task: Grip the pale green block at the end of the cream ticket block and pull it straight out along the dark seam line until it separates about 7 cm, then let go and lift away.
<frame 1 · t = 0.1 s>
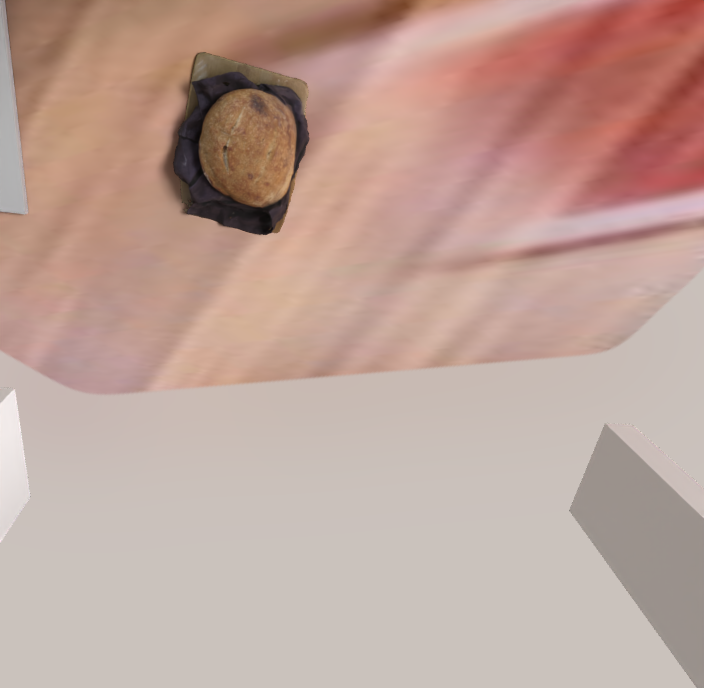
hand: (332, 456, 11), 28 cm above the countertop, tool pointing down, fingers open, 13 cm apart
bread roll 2: (243, 149, 35), on the countertop
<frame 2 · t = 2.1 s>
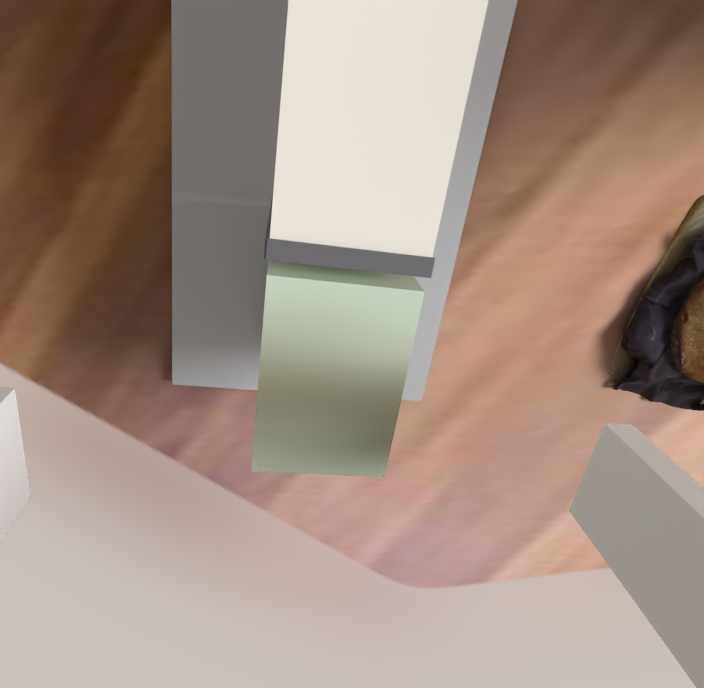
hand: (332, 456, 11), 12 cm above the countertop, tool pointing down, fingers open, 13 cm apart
ticket block: (337, 94, 19), on the countertop
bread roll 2: (695, 306, 26), on the countertop
pale green block: (322, 324, 18), point 5 cm above the countertop, slide at 0.0 cm
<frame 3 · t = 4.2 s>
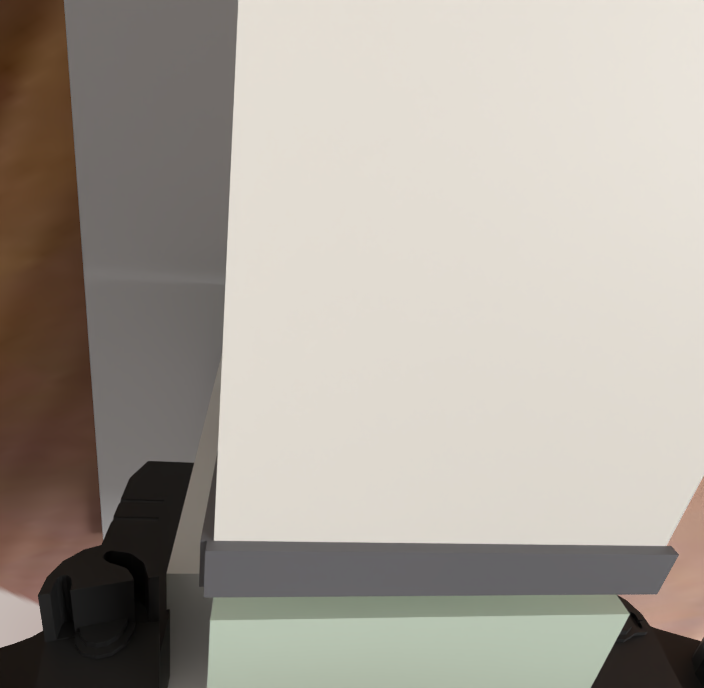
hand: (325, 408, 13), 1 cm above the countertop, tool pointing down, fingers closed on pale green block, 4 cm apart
ticket block: (361, 103, 11), on the countertop
pale green block: (341, 519, 10), point 5 cm above the countertop, slide at 0.0 cm, touching gripper
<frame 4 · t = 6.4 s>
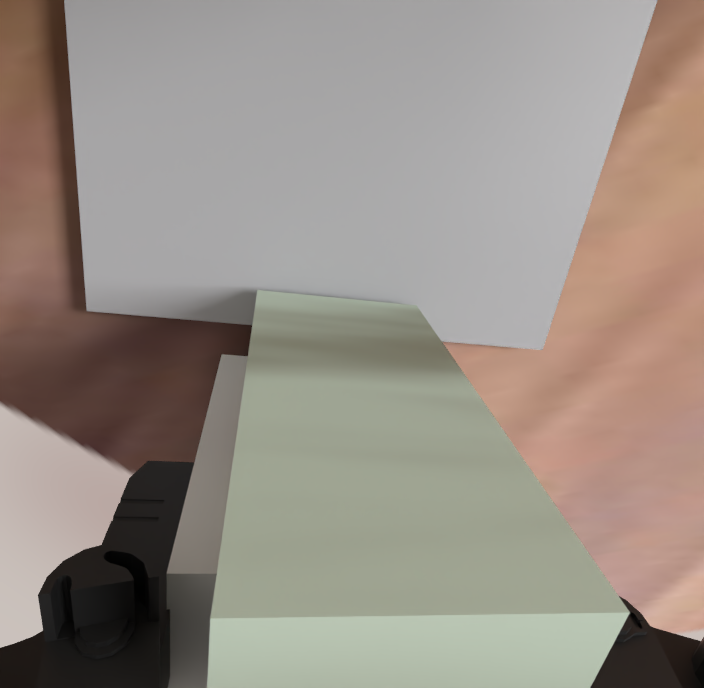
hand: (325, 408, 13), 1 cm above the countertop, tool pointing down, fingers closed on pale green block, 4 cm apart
pale green block: (341, 518, 10), point 5 cm above the countertop, slide at 7.5 cm, touching gripper
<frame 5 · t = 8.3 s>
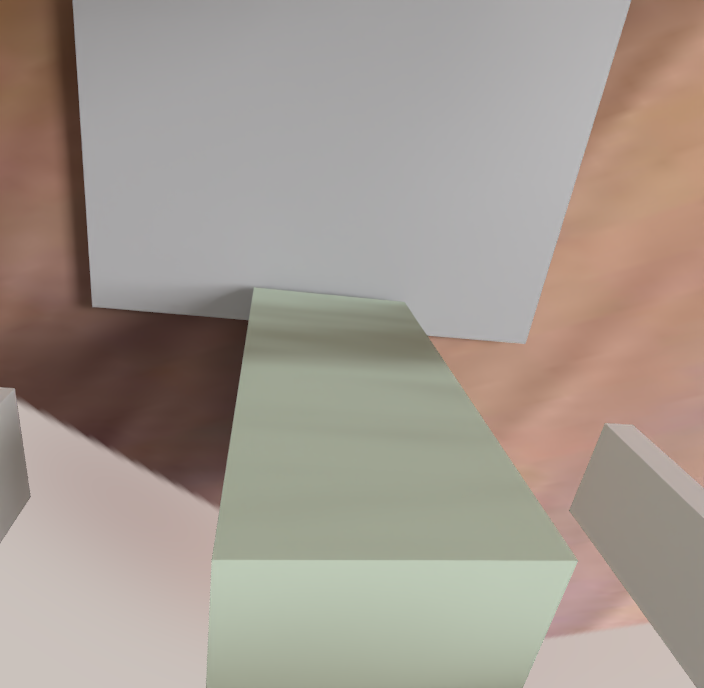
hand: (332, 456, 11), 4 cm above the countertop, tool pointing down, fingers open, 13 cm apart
pale green block: (332, 499, 10), point 5 cm above the countertop, slide at 7.6 cm
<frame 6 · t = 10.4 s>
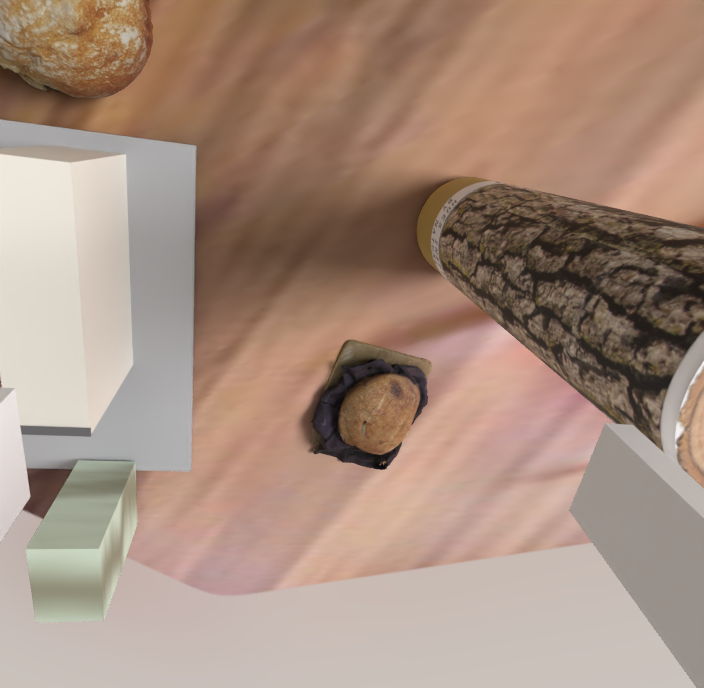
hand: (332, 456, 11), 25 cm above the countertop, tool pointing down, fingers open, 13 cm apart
ticket block: (101, 306, 34), on the countertop
paper tube: (459, 225, 35), on the countertop
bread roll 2: (367, 402, 41), on the countertop
pale green block: (90, 534, 35), point 5 cm above the countertop, slide at 7.6 cm
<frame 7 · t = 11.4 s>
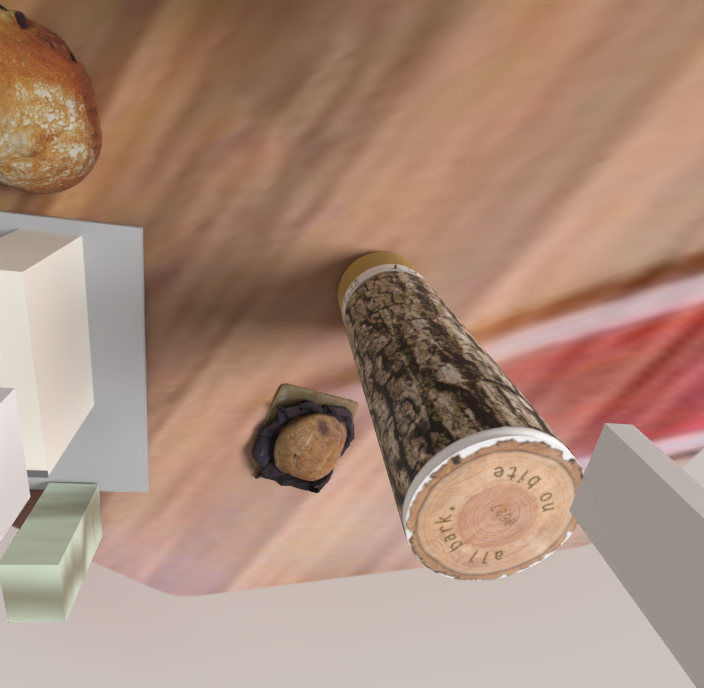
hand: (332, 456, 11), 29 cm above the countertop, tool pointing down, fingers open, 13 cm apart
ticket block: (66, 356, 40), on the countertop
paper tube: (377, 289, 41), on the countertop
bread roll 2: (303, 435, 46), on the countertop
pale green block: (56, 548, 41), point 5 cm above the countertop, slide at 7.6 cm
bread roll: (26, 104, 32), on the countertop
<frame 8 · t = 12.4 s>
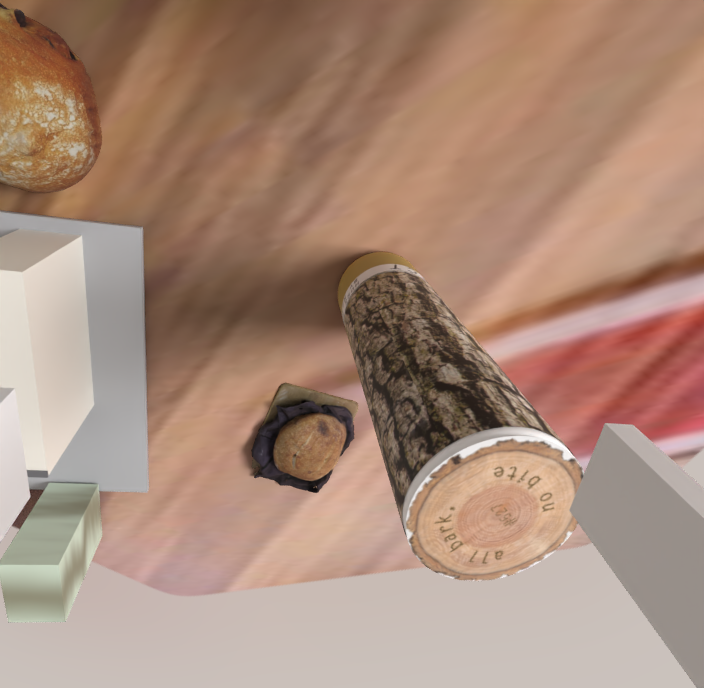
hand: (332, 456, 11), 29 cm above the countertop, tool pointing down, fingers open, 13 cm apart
ticket block: (66, 356, 40), on the countertop
paper tube: (377, 289, 41), on the countertop
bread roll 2: (302, 434, 46), on the countertop
pale green block: (56, 548, 41), point 5 cm above the countertop, slide at 7.6 cm
bread roll: (26, 103, 32), on the countertop
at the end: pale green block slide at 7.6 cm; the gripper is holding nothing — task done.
